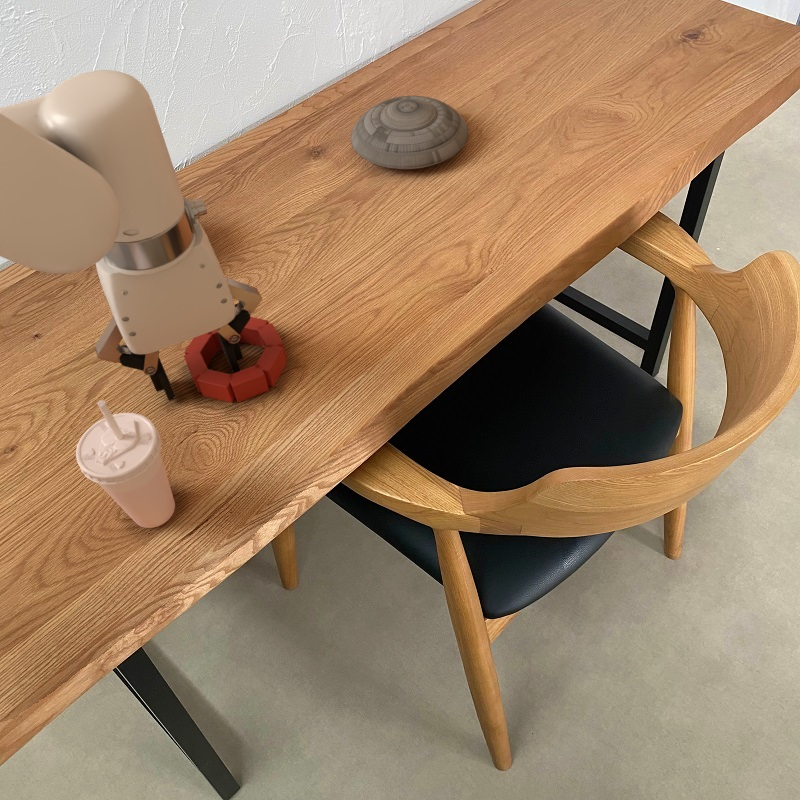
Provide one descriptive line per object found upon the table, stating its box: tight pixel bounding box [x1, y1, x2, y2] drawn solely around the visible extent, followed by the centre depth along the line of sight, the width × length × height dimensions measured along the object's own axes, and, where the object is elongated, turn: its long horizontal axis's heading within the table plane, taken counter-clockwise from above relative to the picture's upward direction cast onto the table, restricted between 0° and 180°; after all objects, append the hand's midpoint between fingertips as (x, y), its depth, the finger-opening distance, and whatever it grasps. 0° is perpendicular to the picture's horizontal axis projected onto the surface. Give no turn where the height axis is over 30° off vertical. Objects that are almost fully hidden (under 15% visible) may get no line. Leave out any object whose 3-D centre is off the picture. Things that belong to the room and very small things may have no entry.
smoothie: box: [75, 399, 176, 529], centre depth 64 cm, size 6×6×14 cm
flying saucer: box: [350, 95, 469, 170], centre depth 100 cm, size 15×15×6 cm
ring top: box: [183, 316, 288, 404], centre depth 78 cm, size 9×9×2 cm
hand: (200, 376), depth 78 cm, fingers open, 6 cm apart
